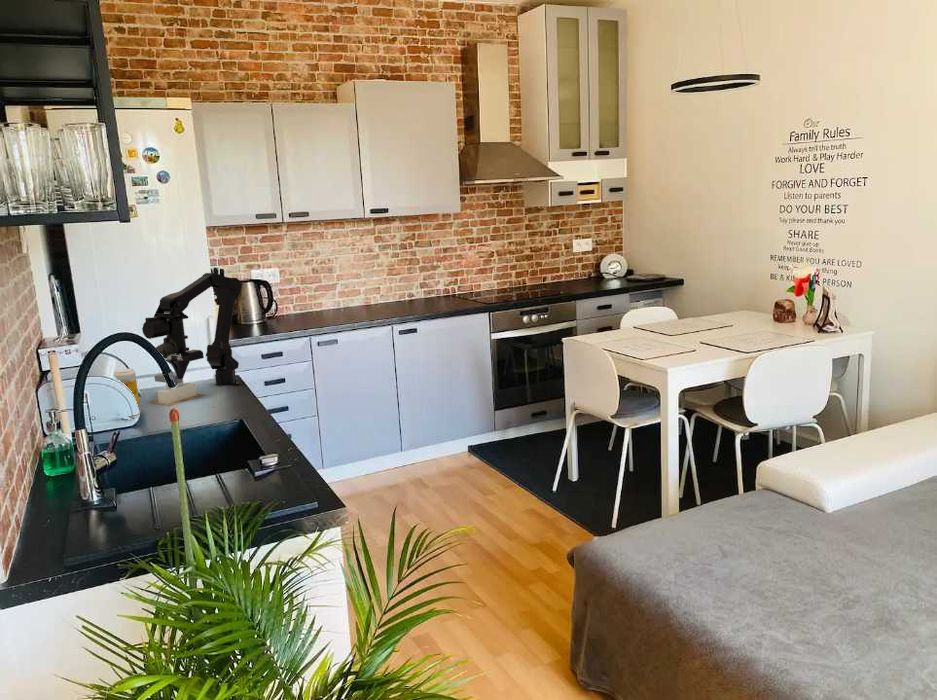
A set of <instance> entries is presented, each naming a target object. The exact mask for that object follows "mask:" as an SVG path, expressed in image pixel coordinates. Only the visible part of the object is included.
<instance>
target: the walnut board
mask: <svg viewBox="0 0 937 700" xmlns="http://www.w3.org/2000/svg"><path fill="white" fill-rule="evenodd" d="M204 396H206V394H201V393H196V396H192V397H189V398H186V399H182V400H179V401H175V402H172V403H169V404H163V403H159V400H158V398H157V399H153V400H149V401H146V402H145V404H150V405H158V406H166V407H171V406H175V405H177V404H182V403H184V402H188V401H190V400H195V399H198V398H201V397H204Z"/></svg>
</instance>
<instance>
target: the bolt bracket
mask: <svg viewBox="0 0 937 700" xmlns="http://www.w3.org/2000/svg"><path fill="white" fill-rule="evenodd" d="M172 373H173V375H174V376H177V374H176V372H172ZM181 384H185V382H184V378H183V379H182V382H181V383H178V384H176V386H177V385H181ZM167 388H169V387H168V385H167V383H165V389H167Z"/></svg>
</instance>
